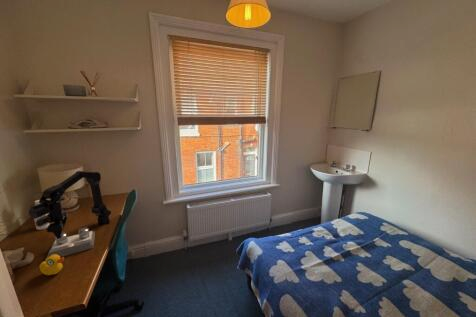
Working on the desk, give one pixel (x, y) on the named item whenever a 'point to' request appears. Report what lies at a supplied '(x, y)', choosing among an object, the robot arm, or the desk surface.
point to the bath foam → (40, 217)
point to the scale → (72, 245)
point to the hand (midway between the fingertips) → (60, 234)
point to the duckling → (52, 265)
